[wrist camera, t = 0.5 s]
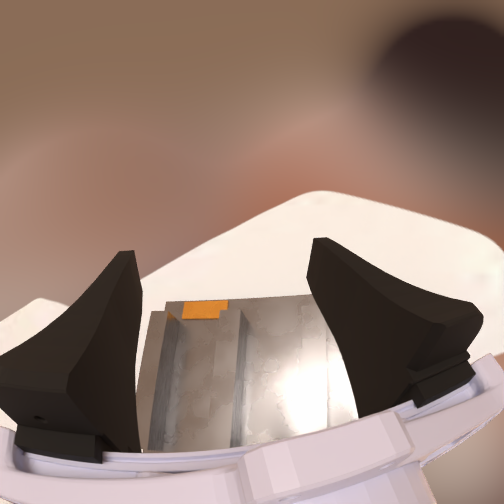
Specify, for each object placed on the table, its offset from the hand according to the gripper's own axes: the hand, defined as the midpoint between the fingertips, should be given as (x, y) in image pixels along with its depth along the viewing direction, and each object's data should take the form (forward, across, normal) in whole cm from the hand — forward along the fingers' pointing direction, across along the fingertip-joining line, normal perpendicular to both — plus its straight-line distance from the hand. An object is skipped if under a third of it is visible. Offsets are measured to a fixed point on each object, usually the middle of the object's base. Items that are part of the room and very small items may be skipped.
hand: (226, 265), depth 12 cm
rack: (+4, -5, +17) cm, 18 cm away
